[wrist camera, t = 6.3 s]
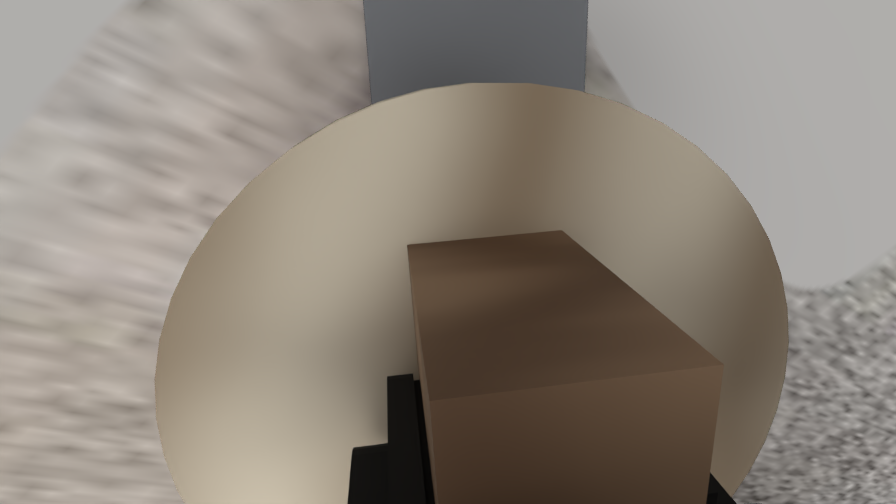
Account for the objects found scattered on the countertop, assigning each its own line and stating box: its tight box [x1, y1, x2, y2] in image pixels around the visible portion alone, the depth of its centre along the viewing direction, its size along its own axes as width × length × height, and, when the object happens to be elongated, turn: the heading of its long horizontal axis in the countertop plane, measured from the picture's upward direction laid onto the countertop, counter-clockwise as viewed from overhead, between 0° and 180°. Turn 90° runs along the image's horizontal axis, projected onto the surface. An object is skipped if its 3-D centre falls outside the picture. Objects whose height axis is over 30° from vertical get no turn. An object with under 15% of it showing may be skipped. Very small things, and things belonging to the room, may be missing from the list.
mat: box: [363, 0, 588, 104], centre depth 30 cm, size 13×13×1 cm
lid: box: [155, 83, 789, 504], centre depth 9 cm, size 14×14×6 cm
